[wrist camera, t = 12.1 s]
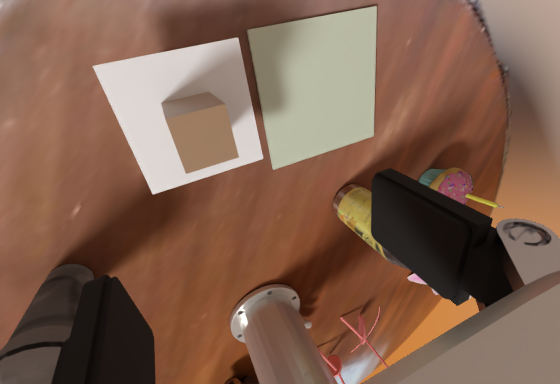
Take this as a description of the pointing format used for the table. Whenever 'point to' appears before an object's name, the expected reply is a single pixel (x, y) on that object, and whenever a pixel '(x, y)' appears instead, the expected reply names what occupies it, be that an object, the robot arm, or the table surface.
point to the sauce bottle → (359, 216)
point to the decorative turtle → (235, 383)
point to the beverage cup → (44, 328)
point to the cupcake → (453, 184)
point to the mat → (316, 83)
